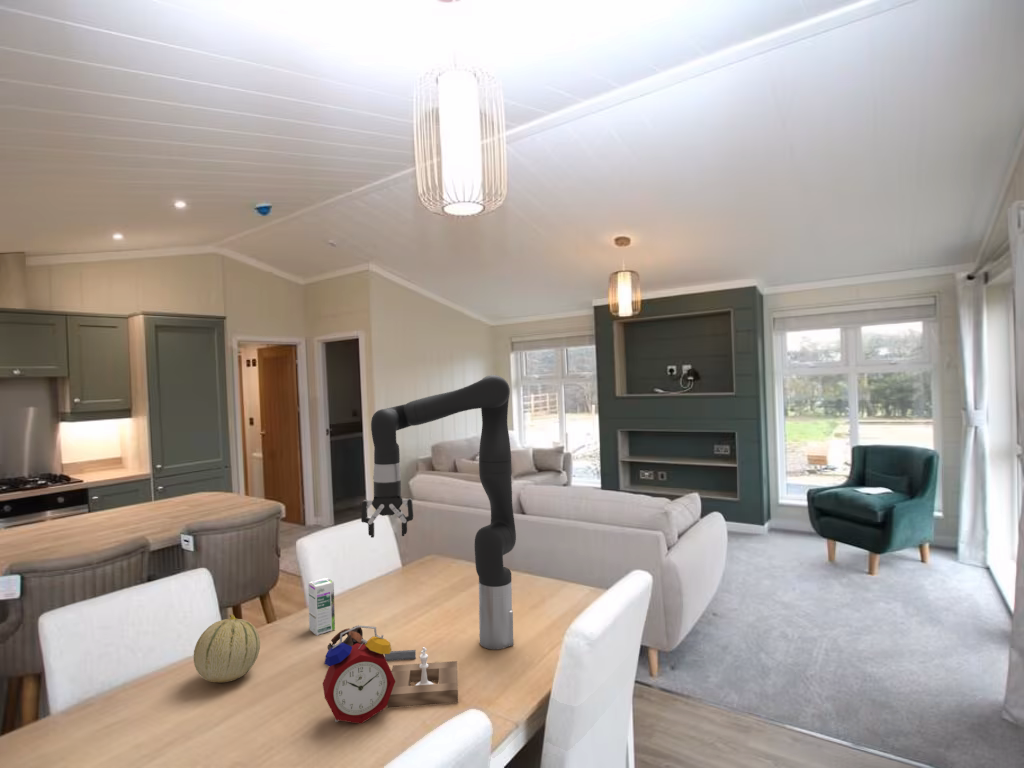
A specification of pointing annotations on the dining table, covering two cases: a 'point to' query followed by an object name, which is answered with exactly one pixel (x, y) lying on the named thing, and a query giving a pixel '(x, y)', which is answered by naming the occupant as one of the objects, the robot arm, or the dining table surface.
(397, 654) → the stand rails
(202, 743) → the dining table surface
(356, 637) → the pottery mug
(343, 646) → the alarm clock
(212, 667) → the cantaloupe
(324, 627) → the syrup box
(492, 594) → the robot arm
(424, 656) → the chess piece
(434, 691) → the block
